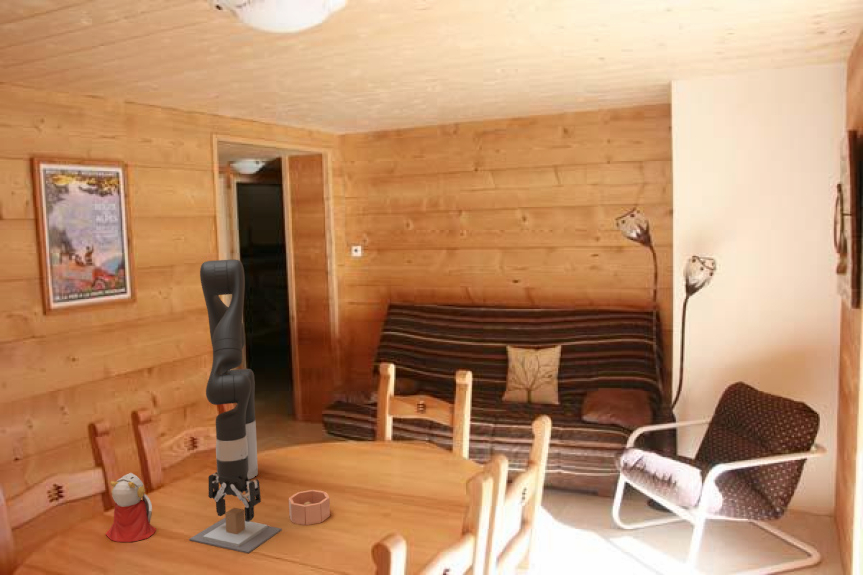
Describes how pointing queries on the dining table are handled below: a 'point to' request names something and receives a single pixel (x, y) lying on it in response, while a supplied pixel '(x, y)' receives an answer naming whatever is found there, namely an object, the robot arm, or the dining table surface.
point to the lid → (235, 529)
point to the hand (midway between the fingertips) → (235, 517)
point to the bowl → (309, 507)
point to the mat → (244, 548)
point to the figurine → (130, 511)
